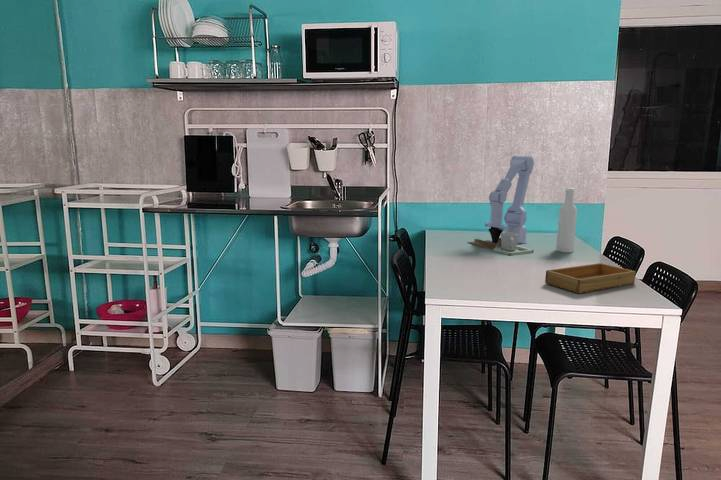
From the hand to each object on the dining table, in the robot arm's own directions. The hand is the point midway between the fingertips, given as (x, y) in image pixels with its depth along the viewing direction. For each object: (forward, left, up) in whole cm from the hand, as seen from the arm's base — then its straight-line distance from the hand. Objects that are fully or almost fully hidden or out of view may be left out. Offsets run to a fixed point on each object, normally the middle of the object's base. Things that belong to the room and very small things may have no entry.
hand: (494, 242), depth 264 cm
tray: (+14, +68, -3) cm, 70 cm away
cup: (0, +11, -2) cm, 11 cm away
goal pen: (0, +13, -2) cm, 13 cm away
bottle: (-24, +22, -2) cm, 33 cm away
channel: (0, 0, -2) cm, 2 cm away
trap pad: (0, -10, -2) cm, 10 cm away
